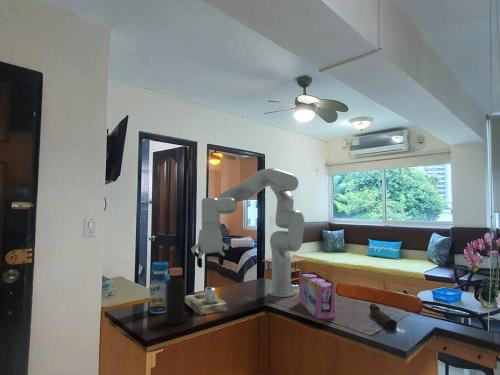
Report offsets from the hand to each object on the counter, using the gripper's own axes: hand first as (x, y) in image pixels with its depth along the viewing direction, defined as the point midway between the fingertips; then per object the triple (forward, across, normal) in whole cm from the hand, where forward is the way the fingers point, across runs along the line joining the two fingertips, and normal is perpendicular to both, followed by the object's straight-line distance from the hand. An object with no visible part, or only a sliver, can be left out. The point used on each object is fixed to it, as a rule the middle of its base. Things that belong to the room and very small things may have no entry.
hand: (210, 266), depth 137 cm
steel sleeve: (+18, 0, 0) cm, 18 cm away
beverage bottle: (+18, +20, -9) cm, 28 cm away
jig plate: (+18, +1, -5) cm, 19 cm away
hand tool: (+20, -51, +45) cm, 71 cm away
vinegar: (+18, +18, +7) cm, 26 cm away
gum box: (+19, -39, +22) cm, 49 cm away
